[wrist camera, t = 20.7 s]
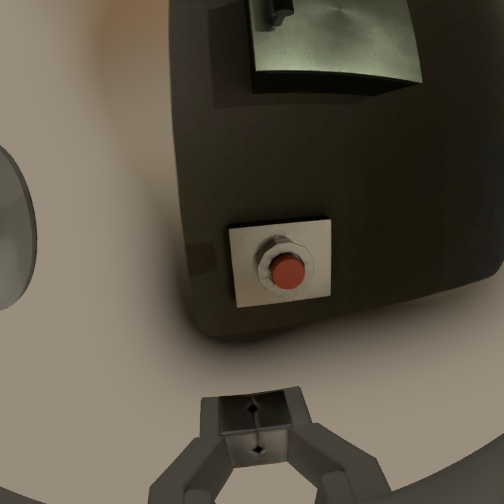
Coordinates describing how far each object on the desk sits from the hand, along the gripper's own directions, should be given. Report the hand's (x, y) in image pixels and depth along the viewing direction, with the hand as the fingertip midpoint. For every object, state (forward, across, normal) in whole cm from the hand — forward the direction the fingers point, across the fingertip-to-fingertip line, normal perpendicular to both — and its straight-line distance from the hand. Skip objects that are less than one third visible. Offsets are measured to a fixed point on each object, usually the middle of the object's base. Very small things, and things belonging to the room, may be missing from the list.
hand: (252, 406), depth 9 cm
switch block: (+29, -6, +6) cm, 30 cm away
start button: (+25, -6, +6) cm, 27 cm away
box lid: (+19, -12, -21) cm, 31 cm away
